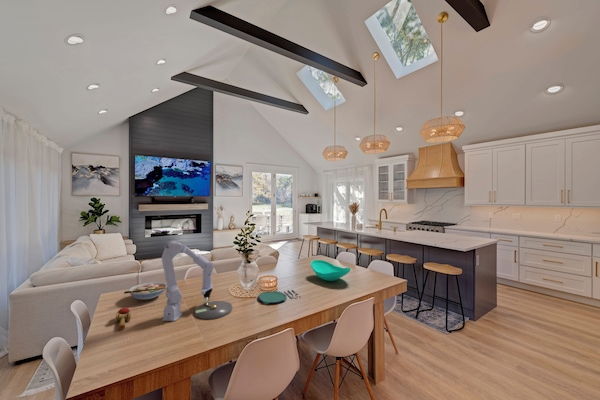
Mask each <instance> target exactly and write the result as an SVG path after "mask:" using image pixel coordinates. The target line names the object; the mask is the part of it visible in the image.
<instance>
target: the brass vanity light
mask: <svg viewBox="0 0 600 400" xmlns="http://www.w3.org/2000/svg"><path fill="white" fill-rule="evenodd" d="M203 298H204V297H203ZM203 300H204V301H203V303H202V304H203V305H204V306H208V307H211V309H216V308H217V305H209V304H208V302H209V301H208V297H205V298H204V299H203Z"/></svg>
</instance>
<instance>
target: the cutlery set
mask: <svg viewBox="0 0 600 400" xmlns="http://www.w3.org/2000/svg"><path fill="white" fill-rule="evenodd" d="M291 291H292V292H291ZM283 292H284V293H283ZM283 292H282V291H278V290H272V291H265V292H261V293H259V294H258V296H257V298H258V300H259V302H262V303H263V304H264V305H265V306H266V305H268V304H278V303H282V302H285V301H286V300H287V299H288V298H289V299H291V300H293V297H296V295H300V294H299V293H297V292H296V291H295V290H294V289H291V290H288V289H287V292H288V293H287V292H286V290H285V291H284V290H283ZM293 293H294V294H295V293H296V294H295V296H293V295H294V294H293ZM287 295H288V297H287ZM290 295H291V296H290ZM292 296H293V297H292Z"/></svg>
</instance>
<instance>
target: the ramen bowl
mask: <svg viewBox="0 0 600 400" xmlns="http://www.w3.org/2000/svg"><path fill="white" fill-rule="evenodd" d="M166 288H167V283H166V282H163V281H161V282H160V281H151V282H145V283H140V284H137V285H134V286H132V287H130V288H129V290H127V291H125V290H124V292H123V293H124V294H130V295H131V296H132V298H134V299H136V300H143V301H149V300H153V299H156V298H157V297H159V296H160V295H162V294H163V293H164V292H165V291H166ZM124 294H123V295H124Z"/></svg>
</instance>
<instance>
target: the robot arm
mask: <svg viewBox="0 0 600 400" xmlns="http://www.w3.org/2000/svg"><path fill="white" fill-rule="evenodd" d="M179 254H185V255H187V256H188V257H190V258H191V259H193V261H192V262H193V263H194V264H196V265H197V266H198V267H200V268H201V270H202V286H201V292H200V293H201V295H202V296H203V298H205V297H208V302H210V297H211V294H212V292H213V289H214V286H213V270H214V269H215V265H214V263H213V262H211V261H209V259H208V258H206V257H204V255H203V254H196V252H194V251H193V250H192V249H191V248H189V247H188V246H186V245H184V244H183V243H181V242H179V241H175V240H170V241H168V242H167V243H166V245H164V250H163V252H162V255H161V262H162V267H163V272H164V277H165V281H166V282H165V283H166V284H167V287H166V289H165V297H166V298H167V299H166V305H165V307H164V308H163V318H162V319H161V321H162V322H165V321H166V322H167V321H168V322H169V321H170V322H176V321H177V320H178V319H179V318H180V317H181V316H182V315H183V314H184V312H181V300H182V299H183V294H182V292H181V291H180V289H179V288H180V287H179V286H178V283H177V277H176V273H175V268H174V267H175V266H174V262H173V259H174V258H175V257H176V256H177V255H179Z"/></svg>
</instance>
